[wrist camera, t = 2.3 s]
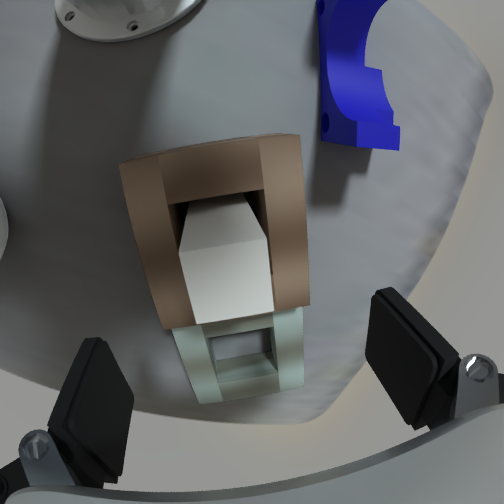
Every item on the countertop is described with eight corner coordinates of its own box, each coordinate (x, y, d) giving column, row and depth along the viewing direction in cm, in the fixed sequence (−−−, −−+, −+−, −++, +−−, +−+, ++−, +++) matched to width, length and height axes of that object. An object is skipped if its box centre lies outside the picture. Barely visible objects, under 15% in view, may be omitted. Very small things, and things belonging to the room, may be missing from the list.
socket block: (138, 155, 19) (118, 164, 15) (279, 133, 20) (299, 135, 15) (199, 382, 28) (200, 421, 24) (296, 365, 29) (309, 401, 24)
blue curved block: (372, 144, 21) (417, 152, 16) (320, 140, 21) (356, 146, 15) (367, 9, 17) (407, -14, 11) (315, -2, 16) (347, -33, 11)
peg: (190, 197, 21) (178, 252, 12) (240, 189, 21) (266, 238, 12) (199, 243, 22) (196, 324, 13) (246, 235, 23) (274, 311, 14)
